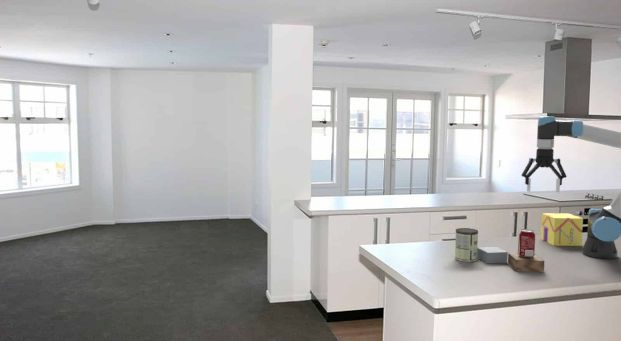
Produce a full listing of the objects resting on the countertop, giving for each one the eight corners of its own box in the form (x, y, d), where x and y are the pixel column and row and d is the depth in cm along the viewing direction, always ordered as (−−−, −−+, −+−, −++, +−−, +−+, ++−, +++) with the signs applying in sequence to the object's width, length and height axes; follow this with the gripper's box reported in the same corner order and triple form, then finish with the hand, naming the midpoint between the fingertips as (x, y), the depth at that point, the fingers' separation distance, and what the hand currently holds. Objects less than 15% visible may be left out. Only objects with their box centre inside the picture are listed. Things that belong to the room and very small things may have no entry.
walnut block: (534, 264, 227) (535, 253, 226) (543, 272, 215) (544, 260, 214) (507, 263, 228) (508, 252, 228) (515, 270, 216) (515, 259, 216)
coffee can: (456, 255, 242) (457, 227, 241) (478, 257, 238) (479, 229, 237) (453, 260, 233) (454, 231, 232) (475, 263, 228) (476, 233, 227)
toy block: (581, 245, 264) (583, 218, 263) (553, 245, 264) (554, 218, 263) (567, 239, 279) (568, 213, 278) (540, 239, 279) (542, 213, 278)
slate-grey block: (496, 256, 239) (496, 246, 239) (507, 262, 230) (507, 252, 229) (476, 257, 238) (477, 247, 238) (487, 263, 228) (487, 252, 228)
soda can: (535, 259, 217) (537, 232, 216) (519, 258, 219) (520, 231, 217) (532, 255, 224) (533, 229, 223) (516, 254, 225) (517, 228, 224)
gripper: (569, 148, 241) (566, 191, 243) (516, 147, 244) (514, 190, 246) (575, 148, 234) (572, 193, 236) (520, 148, 237) (518, 192, 239)
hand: (542, 191), depth 241 cm, fingers open, 13 cm apart
